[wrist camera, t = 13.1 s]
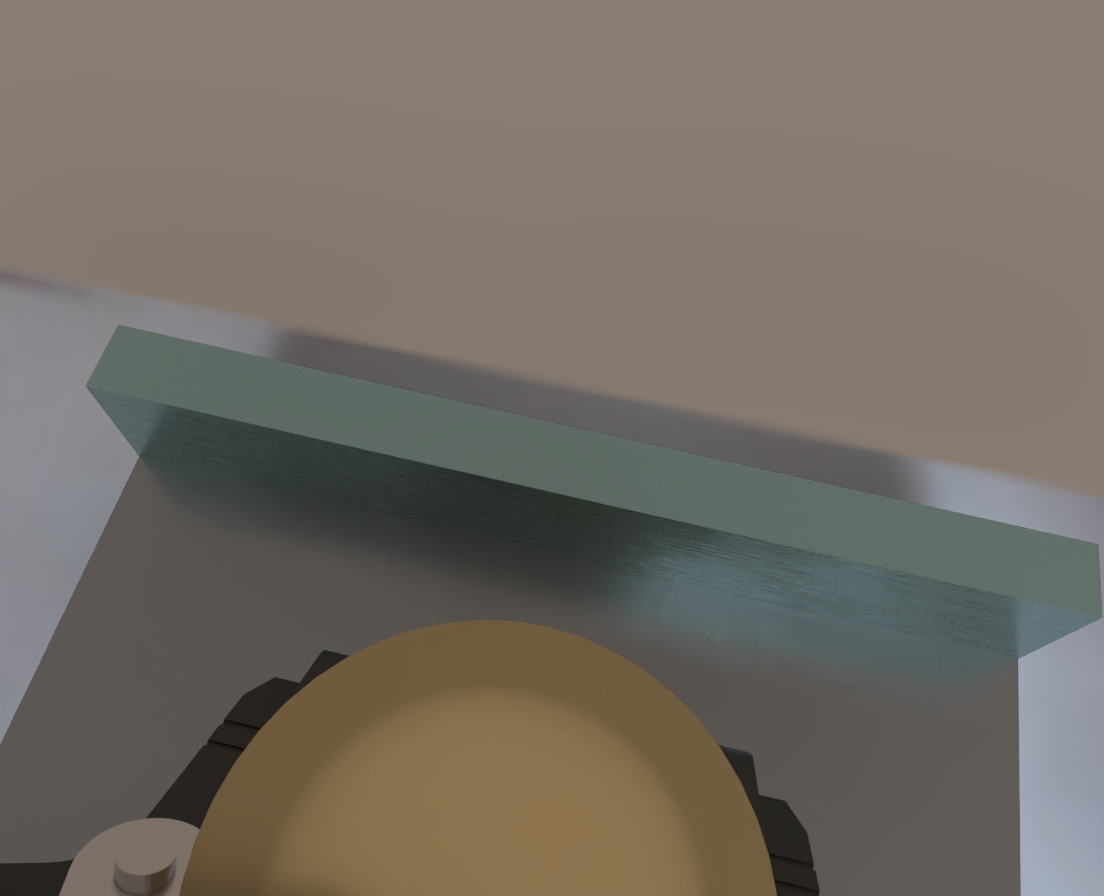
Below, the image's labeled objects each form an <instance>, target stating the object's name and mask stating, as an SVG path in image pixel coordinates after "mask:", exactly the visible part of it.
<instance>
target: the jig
mask: <svg viewBox="0 0 1104 896" xmlns="http://www.w3.org/2000/svg"><path fill="white" fill-rule="evenodd" d="M86 387H87V388H88V390H89V391H90V392H91V394H92V395H93V396H94V398H95V399H96V400H97V402H98V403H99V404H100V405H101V407H102V408H103V409H104V411H105V412H106V413H107V415H108V416H109V417H110V418H111V420H112V421H113V422H114V424H115V425H116V426H117V428H118V429H119V430H120V432H121V433H122V434H123V435H124V437H125V438H126V439H127V441H128V442H129V443H130V445H131V446H132V447H133V448H134V450H135V451H136V452H137V454H138V455H139V458H138V461H137V463H136V465H135V467H134V469H133V471H132V473H131V475H130V477H129V479H128V481H127V483H126V485H125V487H124V490H123V492H122V494H121V496H120V498H119V500H118V502H117V504H116V506H115V508H114V510H113V512H112V514H111V516H110V519H109V521H108V523H107V525H106V527H105V529H104V531H103V533H102V535H101V537H100V539H99V541H98V543H97V545H96V548H95V550H94V552H93V554H92V556H91V558H90V560H89V562H88V564H87V566H86V568H85V570H84V572H83V575H82V577H81V579H80V581H79V583H78V585H77V587H76V589H75V591H74V593H73V595H72V597H71V599H70V601H69V604H68V606H67V608H66V610H65V612H64V614H63V616H62V618H61V620H60V622H59V624H58V626H57V628H56V630H55V633H54V635H53V637H52V639H51V641H50V643H49V645H48V647H47V649H46V651H45V653H44V655H43V657H42V660H41V662H40V664H39V666H38V668H37V670H36V672H35V674H34V676H33V678H32V680H31V682H30V684H29V686H28V689H27V691H26V693H25V695H24V697H23V699H22V701H21V703H20V705H19V707H18V709H17V711H16V713H15V715H14V718H13V720H12V722H11V724H10V726H9V728H8V730H7V732H6V734H5V736H4V738H3V740H2V742H1V745H0V863H47V862H61V861H67V860H73V859H75V857H76V855H77V854H78V853H79V852H80V850H81V849H82V848H83V847H84V846H85V845H86V844H87V843H88V842H89V841H90V840H92V839H93V838H95V837H96V836H98V835H99V834H100V833H102V832H104V831H106V830H108V829H110V828H112V827H115V826H117V825H120V824H123V823H126V822H130V821H134V820H140V819H146V818H147V816H148V815H149V814H150V812H151V811H152V810H153V809H154V807H155V806H156V805H157V804H158V802H159V801H160V800H161V799H162V797H163V796H164V795H165V793H166V792H167V791H168V790H169V788H170V787H171V786H172V785H173V783H174V782H175V781H176V779H177V778H178V777H179V776H180V774H181V773H182V772H183V771H184V769H185V768H186V767H187V766H188V764H189V763H190V762H191V760H192V759H193V758H194V757H195V755H196V754H197V753H198V752H199V750H200V749H201V748H202V747H203V745H206V744H207V742H208V739H209V738H210V736H211V735H212V734H213V733H214V731H215V730H216V729H217V728H218V726H219V725H220V724H223V722H224V719H225V717H226V716H227V715H228V714H229V712H230V711H231V710H232V709H233V707H234V706H235V705H236V703H237V702H238V701H239V700H240V698H241V697H242V696H243V695H244V694H245V693H247V692H249V691H251V690H253V689H254V688H256V687H258V686H260V685H262V684H263V683H265V682H267V681H269V680H271V679H272V678H274V677H277V678H282V679H286V680H290V681H294V682H298V683H300V682H301V680H302V679H303V677H304V676H305V674H306V673H307V672H308V670H309V669H310V667H311V666H312V664H313V663H314V662H315V660H316V659H317V657H318V656H319V655H320V653H321V652H322V651H323V650H327V651H332V652H336V653H340V654H344V655H348V656H351V655H353V654H355V653H357V652H359V651H361V650H363V649H365V648H367V647H369V646H371V645H373V644H375V643H377V642H380V641H383V640H386V639H388V638H391V637H394V636H397V635H400V634H403V633H405V632H408V631H411V630H415V629H420V628H425V627H429V626H434V625H438V624H443V623H450V622H461V621H473V620H498V621H517V622H523V623H529V624H534V625H540V626H546V627H551V628H554V629H557V630H561V631H564V632H567V633H570V634H574V635H577V636H580V637H583V638H585V639H587V640H590V641H592V642H594V643H596V644H599V645H601V646H603V647H605V648H607V649H610V650H612V651H614V652H616V653H617V654H619V655H620V656H622V657H624V658H625V659H627V660H629V661H630V662H632V663H634V664H635V665H637V666H638V667H640V668H642V669H643V670H645V671H646V672H647V673H648V674H650V675H651V676H652V677H653V678H655V679H656V680H657V681H659V682H660V683H661V684H662V685H664V686H665V687H666V688H667V689H669V690H670V691H671V692H672V693H673V694H674V695H675V696H676V697H677V698H678V699H679V700H680V701H681V702H682V703H683V704H684V705H685V706H686V707H687V708H688V709H689V710H690V711H691V712H692V713H693V714H694V715H695V716H696V717H697V718H698V720H699V721H700V722H701V723H702V725H703V726H704V727H705V729H706V730H707V731H708V732H709V734H710V735H711V736H712V738H713V739H714V740H715V742H716V743H717V744H718V745H721V746H726V747H730V748H734V749H738V750H742V751H746V752H750V753H751V754H752V756H753V760H754V766H755V773H756V779H757V786H758V792H759V795H763V796H767V797H771V798H775V799H779V800H784V801H786V803H787V804H788V805H789V807H790V808H791V810H792V811H793V813H794V814H795V815H796V817H797V818H798V820H799V821H800V823H801V824H802V826H803V827H804V828H805V830H806V831H807V834H808V838H809V843H810V848H811V852H812V857H813V861H814V867H813V870H815V871H816V875H817V880H818V884H819V889H820V892H819V896H1021V891H1020V801H1019V712H1018V659H1019V658H1021V657H1023V656H1025V655H1027V654H1029V653H1031V652H1033V651H1035V650H1037V649H1039V648H1041V647H1043V646H1045V645H1047V644H1049V643H1052V642H1054V641H1056V640H1058V639H1060V638H1062V637H1064V636H1066V635H1068V634H1070V633H1072V632H1074V631H1076V630H1078V629H1080V628H1082V627H1084V626H1086V625H1088V624H1090V623H1092V622H1094V621H1096V620H1098V619H1100V618H1102V617H1103V616H1102V598H1101V580H1100V562H1099V544H1095V543H1091V542H1086V541H1082V540H1077V539H1073V538H1068V537H1064V536H1059V535H1055V534H1051V533H1046V532H1042V531H1037V530H1033V529H1028V528H1024V527H1019V526H1015V525H1010V524H1006V523H1001V522H997V521H992V520H988V519H984V518H979V517H975V516H970V515H966V514H961V513H957V512H952V511H948V510H943V509H939V508H934V507H930V506H925V505H921V504H916V503H912V502H908V501H903V500H899V499H894V498H890V497H885V496H881V495H876V494H872V493H867V492H863V491H858V490H854V489H849V488H845V487H840V486H836V485H832V484H827V483H823V482H818V481H814V480H809V479H805V478H800V477H796V476H791V475H787V474H782V473H778V472H773V471H769V470H765V469H760V468H756V467H751V466H747V465H742V464H738V463H733V462H729V461H724V460H720V459H715V458H711V457H706V456H702V455H697V454H693V453H689V452H684V451H680V450H675V449H671V448H666V447H662V446H657V445H653V444H648V443H644V442H639V441H635V440H630V439H626V438H621V437H617V436H613V435H608V434H604V433H599V432H595V431H590V430H586V429H581V428H577V427H572V426H568V425H563V424H559V423H554V422H550V421H545V420H541V419H537V418H532V417H528V416H523V415H519V414H514V413H510V412H505V411H501V410H496V409H492V408H487V407H483V406H478V405H474V404H470V403H465V402H461V401H456V400H452V399H447V398H443V397H438V396H434V395H429V394H425V393H420V392H416V391H411V390H407V389H402V388H398V387H394V386H389V385H385V384H380V383H376V382H371V381H367V380H362V379H358V378H353V377H349V376H344V375H340V374H335V373H331V372H326V371H322V370H318V369H313V368H309V367H304V366H300V365H295V364H291V363H286V362H282V361H277V360H273V359H268V358H264V357H259V356H255V355H251V354H246V353H242V352H237V351H233V350H228V349H224V348H219V347H215V346H210V345H206V344H201V343H197V342H192V341H188V340H183V339H179V338H175V337H170V336H166V335H161V334H157V333H152V332H148V331H143V330H139V329H134V328H130V327H125V326H121V325H118V326H117V328H116V330H115V332H114V334H113V336H112V338H111V340H110V341H109V343H108V345H107V347H106V349H105V351H104V353H103V355H102V356H101V358H100V360H99V362H98V364H97V366H96V368H95V370H94V371H93V373H92V375H91V377H90V379H89V381H88V383H87V385H86Z"/></svg>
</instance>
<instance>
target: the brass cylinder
mask: <svg viewBox="0 0 1104 896" xmlns="http://www.w3.org/2000/svg"><path fill="white" fill-rule="evenodd" d="M179 896H777V893H776V888H775V882H774V877H773V872H772V867H771V862H770V857H769V854H768V851H767V848H766V845H765V842H764V838H763V835H762V832H761V829H760V826H759V823H758V820H757V817H756V815H755V812H754V810H753V808H752V806H751V804H750V801H749V799H748V797H747V795H746V792H745V790H744V788H743V786H742V784H741V781H740V780H739V778H738V776H737V775H736V773H735V771H734V770H733V768H732V766H731V765H730V763H729V761H728V760H727V758H726V756H725V755H724V753H723V751H722V750H721V748H720V747H719V745H718V744H717V743H716V742H715V740H714V739H713V738H712V736H711V735H710V734H709V732H708V731H707V730H706V729H705V727H704V726H703V725H702V723H701V722H700V721H699V720H698V718H697V717H696V716H695V715H694V714H693V713H692V712H691V711H690V710H689V709H688V708H687V707H686V706H685V705H684V704H683V703H682V702H681V701H680V700H679V699H678V698H677V697H676V696H675V695H674V694H673V693H672V692H671V691H670V690H669V689H667V688H666V687H665V686H664V685H662V684H661V683H660V682H659V681H657V680H656V679H655V678H653V677H652V676H651V675H650V674H648V673H647V672H646V671H645V670H643V669H642V668H640V667H638V666H637V665H635V664H634V663H632V662H630V661H629V660H627V659H625V658H624V657H622V656H620V655H619V654H617V653H616V652H614V651H612V650H610V649H607V648H605V647H603V646H601V645H599V644H596V643H594V642H592V641H590V640H587V639H585V638H583V637H580V636H577V635H574V634H570V633H567V632H564V631H561V630H557V629H554V628H551V627H546V626H540V625H534V624H529V623H523V622H517V621H498V620H473V621H461V622H450V623H443V624H438V625H434V626H429V627H425V628H420V629H415V630H411V631H408V632H405V633H403V634H400V635H397V636H394V637H391V638H388V639H386V640H383V641H380V642H377V643H375V644H373V645H371V646H369V647H367V648H365V649H363V650H361V651H359V652H357V653H355V654H353V655H351V656H349V657H347V658H345V659H344V660H342V661H341V662H339V663H338V664H336V665H334V666H333V667H331V668H330V669H328V670H327V671H325V672H324V673H322V674H321V675H319V676H318V677H316V678H315V679H313V680H312V681H311V682H310V683H309V684H307V685H306V686H305V687H304V688H303V689H301V690H300V691H299V692H298V693H297V694H296V695H294V696H293V697H292V698H291V699H290V700H288V701H287V702H286V703H285V704H284V705H283V706H282V707H281V708H280V709H279V710H278V711H277V712H276V713H275V714H274V715H273V717H272V718H271V719H270V720H269V721H268V722H267V723H266V724H265V725H264V726H263V727H262V728H261V729H260V730H259V731H258V732H257V734H256V735H255V737H254V738H253V739H252V741H251V742H250V743H249V745H248V746H247V747H246V749H245V750H244V751H243V753H242V754H241V755H240V757H239V758H238V759H237V761H236V762H235V763H234V765H233V766H232V768H231V770H230V771H229V773H228V775H227V777H226V778H225V780H224V782H223V783H222V785H221V787H220V789H219V790H218V792H217V794H216V796H215V797H214V799H213V801H212V803H211V805H210V807H209V810H208V812H207V814H206V816H205V819H204V821H203V823H202V826H201V828H200V830H199V832H198V835H197V837H196V839H195V842H194V845H193V848H192V851H191V855H190V858H189V861H188V864H187V868H186V871H185V874H184V877H183V881H182V884H181V889H180V895H179Z"/></svg>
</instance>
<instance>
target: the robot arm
mask: <svg viewBox="0 0 1104 896" xmlns="http://www.w3.org/2000/svg"><path fill="white" fill-rule="evenodd" d="M347 657H349V656H348V655H344V654H340V653H336V652H332V651H327V650H323V651H322V652H321V653H320V655H319V656H318V657H317V659H316V660H315V662H314V663H313V664H312V666H311V667H310V669H309V670H308V672H307V673H306V674H305V676H304V677H303V679H302V680H301V682H300V683H298V682H294V681H290V680H286V679H282V678H277V677H274V678H272V679H271V680H269V681H267V682H265V683H263V684H262V685H260V686H258V687H256V688H254V689H253V690H251V691H249V692H247V693H245V694H244V695H243V696H242V697H241V698H240V700H239V701H238V702H237V703H236V705H235V706H234V707H233V709H232V710H231V711H230V712H229V714H228V715H227V716H226V717H225V719H224V722H223V724H220V725H219V726H218V728H217V729H216V730H215V731H214V733H213V734H212V735H211V736H210V738H209V739H208V742H207V744H206V745H203V747H202V748H201V749H200V750H199V752H198V753H197V754H196V755H195V757H194V758H193V759H192V760H191V762H190V763H189V764H188V766H187V767H186V768H185V769H184V771H183V772H182V773H181V774H180V776H179V777H178V778H177V779H176V781H175V782H174V783H173V785H172V786H171V787H170V788H169V790H168V791H167V792H166V793H165V795H164V796H163V797H162V799H161V800H160V801H159V802H158V804H157V805H156V806H155V807H154V809H153V810H152V811H151V812H150V814H149V815H148V816H147V818H146V819H140V820H134V821H130V822H126V823H123V824H120V825H117V826H115V827H112V828H110V829H108V830H106V831H104V832H102V833H100V834H99V835H98V836H96V837H95V838H93V839H92V840H90V841H89V842H88V843H87V844H86V845H85V846H84V847H83V848H82V849H81V850H80V852H79V853H78V854H77V855H76V857H75V859H73V860H67V861H61V862H47V863H0V896H179V895H180V889H181V884H182V881H183V877H184V874H185V871H186V868H187V864H188V861H189V858H190V855H191V851H192V848H193V845H194V842H195V839H196V837H197V835H198V832H199V830H200V828H201V826H202V823H203V821H204V819H205V816H206V814H207V812H208V810H209V807H210V805H211V803H212V801H213V799H214V797H215V796H216V794H217V792H218V790H219V789H220V787H221V785H222V783H223V782H224V780H225V778H226V777H227V775H228V773H229V771H230V770H231V768H232V766H233V765H234V763H235V762H236V761H237V759H238V758H239V757H240V755H241V754H242V753H243V751H244V750H245V749H246V747H247V746H248V745H249V743H250V742H251V741H252V739H253V738H254V737H255V735H256V734H257V732H258V731H259V730H260V729H261V728H262V727H263V726H264V725H265V724H266V723H267V722H268V721H269V720H270V719H271V718H272V717H273V715H274V714H275V713H276V712H277V711H278V710H279V709H280V708H281V707H282V706H283V705H284V704H285V703H286V702H287V701H288V700H290V699H291V698H292V697H293V696H294V695H296V694H297V693H298V692H299V691H300V690H301V689H303V688H304V687H305V686H306V685H307V684H309V683H310V682H311V681H312V680H313V679H315V678H316V677H318V676H319V675H321V674H322V673H324V672H325V671H327V670H328V669H330V668H331V667H333V666H334V665H336V664H338V663H339V662H341V661H342V660H344V659H345V658H347ZM719 747H720V748H721V750H722V751H723V753H724V755H725V756H726V758H727V760H728V761H729V763H730V765H731V766H732V768H733V770H734V771H735V773H736V775H737V776H738V778H739V780H740V781H741V784H742V786H743V788H744V790H745V792H746V795H747V797H748V799H749V801H750V804H751V806H752V808H753V810H754V812H755V815H756V817H757V820H758V823H759V826H760V829H761V832H762V835H763V838H764V842H765V845H766V848H767V851H768V854H769V857H770V862H771V867H772V872H773V877H774V882H775V888H776V893H777V896H819V892H820V889H819V884H818V880H817V875H816V871H815V870H813V867H814V861H813V857H812V852H811V848H810V843H809V838H808V834H807V831H806V830H805V828H804V827H803V826H802V824H801V823H800V821H799V820H798V818H797V817H796V815H795V814H794V813H793V811H792V810H791V808H790V807H789V805H788V804H787V803H786V801H784V800H779V799H775V798H771V797H767V796H763V795H759V792H758V786H757V779H756V773H755V766H754V760H753V756H752V754H751V753H750V752H746V751H742V750H738V749H734V748H730V747H726V746H721V745H719Z"/></svg>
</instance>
